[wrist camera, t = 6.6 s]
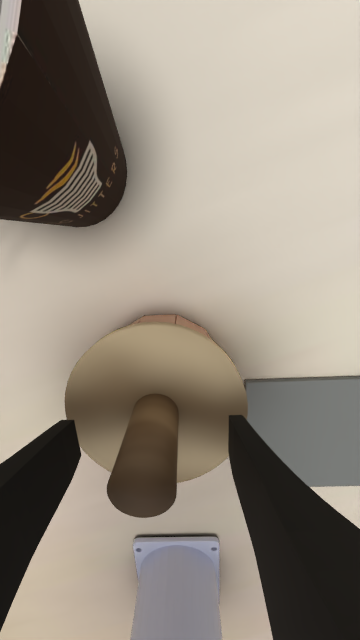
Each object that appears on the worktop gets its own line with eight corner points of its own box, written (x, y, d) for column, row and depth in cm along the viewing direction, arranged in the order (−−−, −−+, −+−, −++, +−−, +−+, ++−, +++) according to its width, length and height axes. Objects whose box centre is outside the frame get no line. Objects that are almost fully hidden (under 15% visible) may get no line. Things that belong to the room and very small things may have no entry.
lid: (248, 463, 13) (284, 575, 8) (94, 477, 13) (47, 590, 9) (237, 310, 11) (280, 345, 6) (51, 334, 11) (-44, 384, 6)
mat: (359, 481, 18) (363, 485, 18) (241, 483, 18) (242, 488, 18) (381, 375, 16) (386, 378, 15) (244, 379, 16) (246, 382, 16)
